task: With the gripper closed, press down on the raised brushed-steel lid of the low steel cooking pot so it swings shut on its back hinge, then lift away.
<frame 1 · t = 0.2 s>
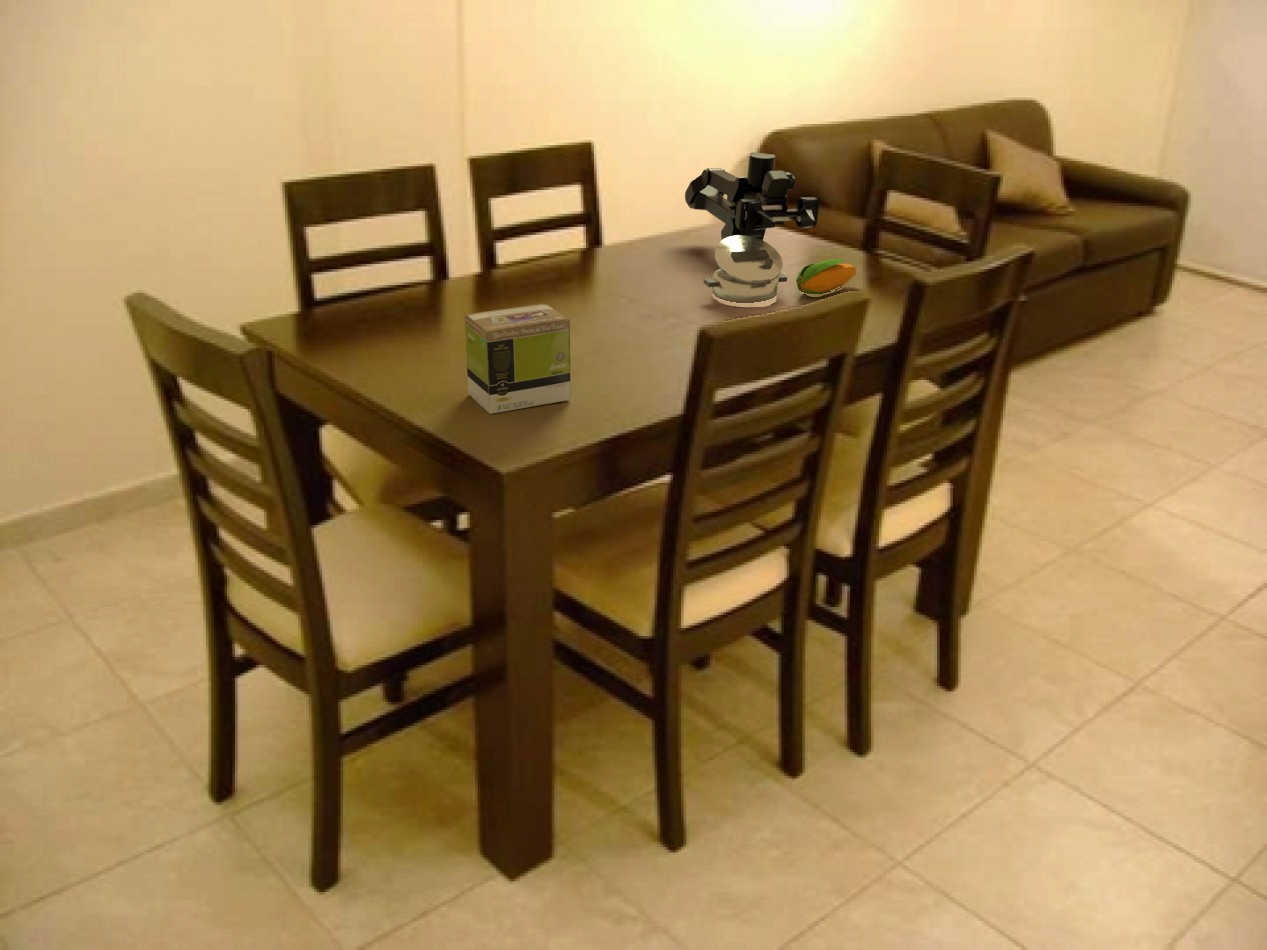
hand: (794, 224, 252), 17 cm above the table, tool horizontal, fingers open, 9 cm apart
pot: (744, 298, 259), on the table
lid: (750, 257, 254), point 9 cm above the table, hinge at 25.0°
corn: (825, 293, 266), on the table
tea box: (518, 399, 203), on the table
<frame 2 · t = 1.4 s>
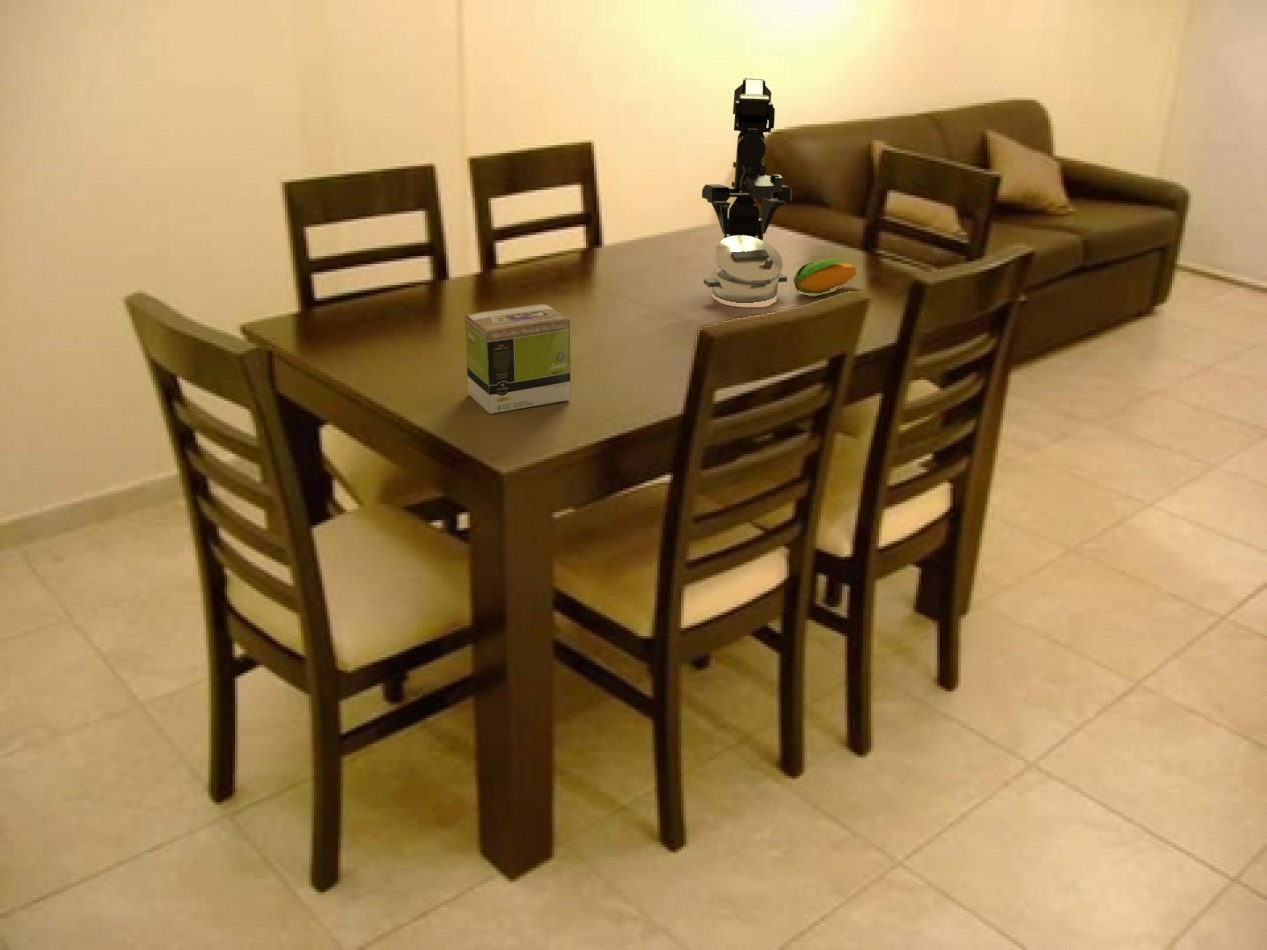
hand: (744, 233, 257), 13 cm above the table, tool pointing down, fingers open, 9 cm apart
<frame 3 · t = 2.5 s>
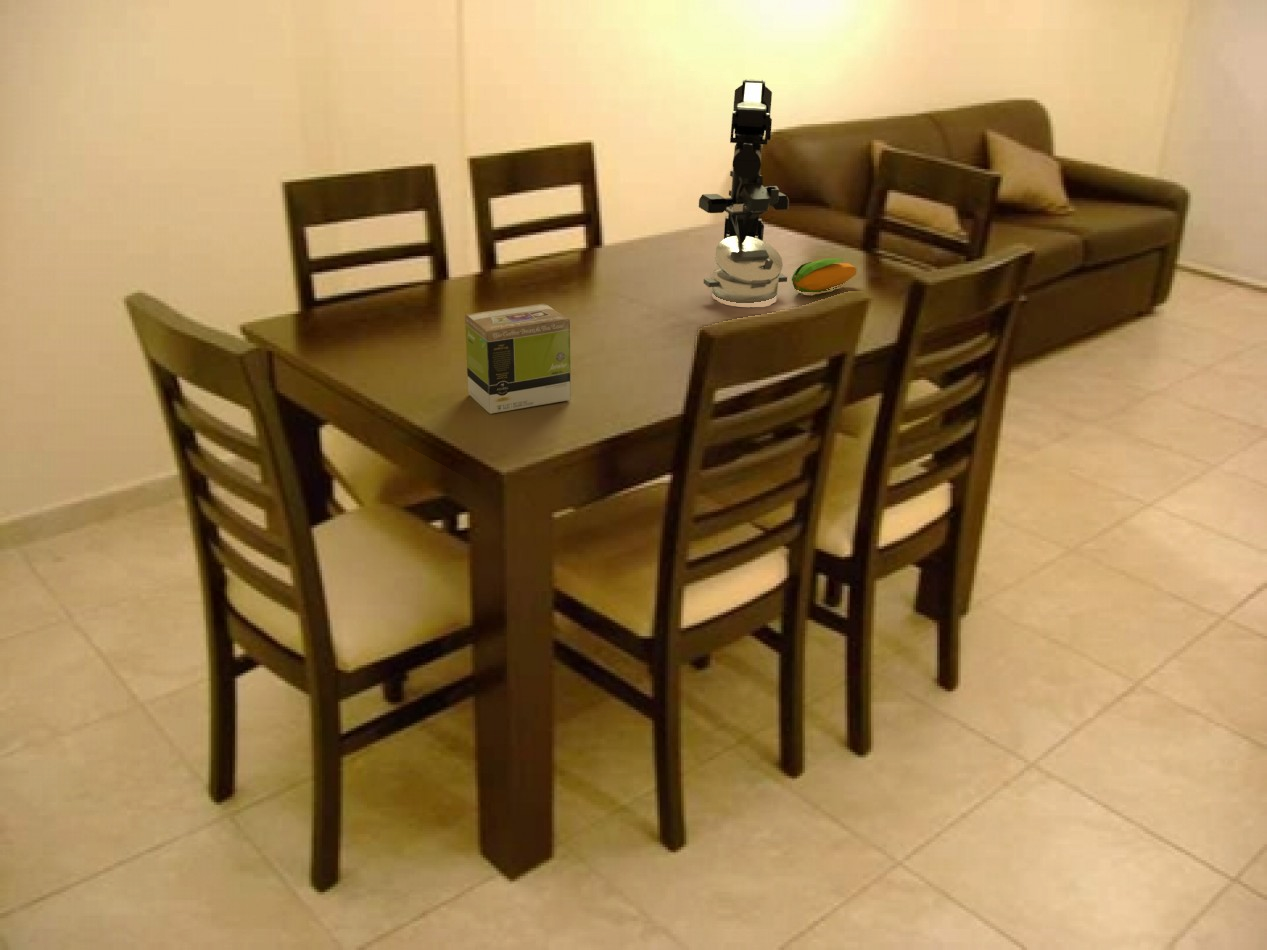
hand: (741, 241, 258), 11 cm above the table, tool pointing down, fingers closed, pressing on lid
lid: (750, 257, 254), point 9 cm above the table, hinge at 24.5°, touching gripper
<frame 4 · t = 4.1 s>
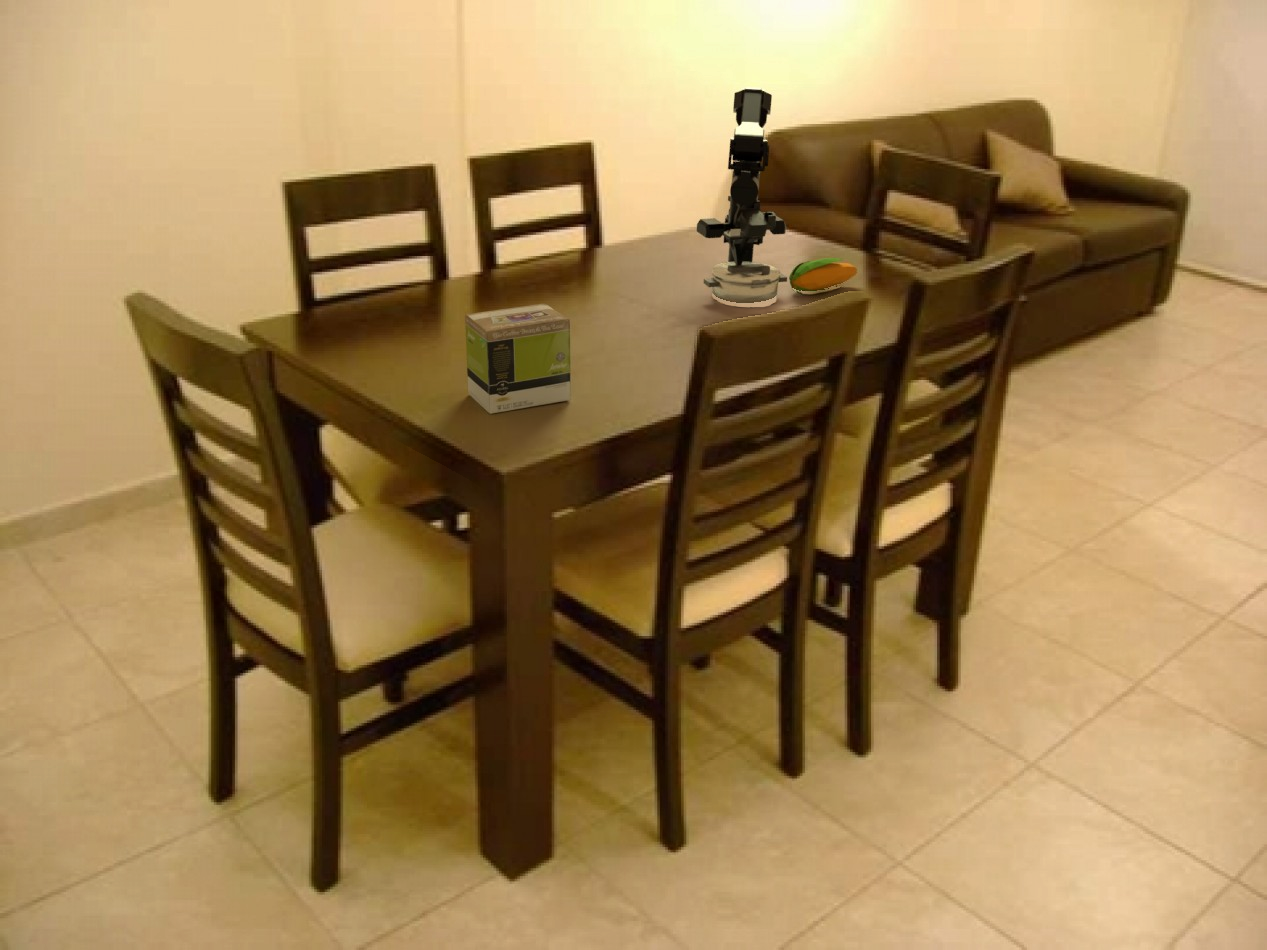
hand: (738, 265, 260), 6 cm above the table, tool pointing down, fingers closed, pressing on lid
lid: (747, 269, 256), point 6 cm above the table, hinge at -0.5°, touching gripper
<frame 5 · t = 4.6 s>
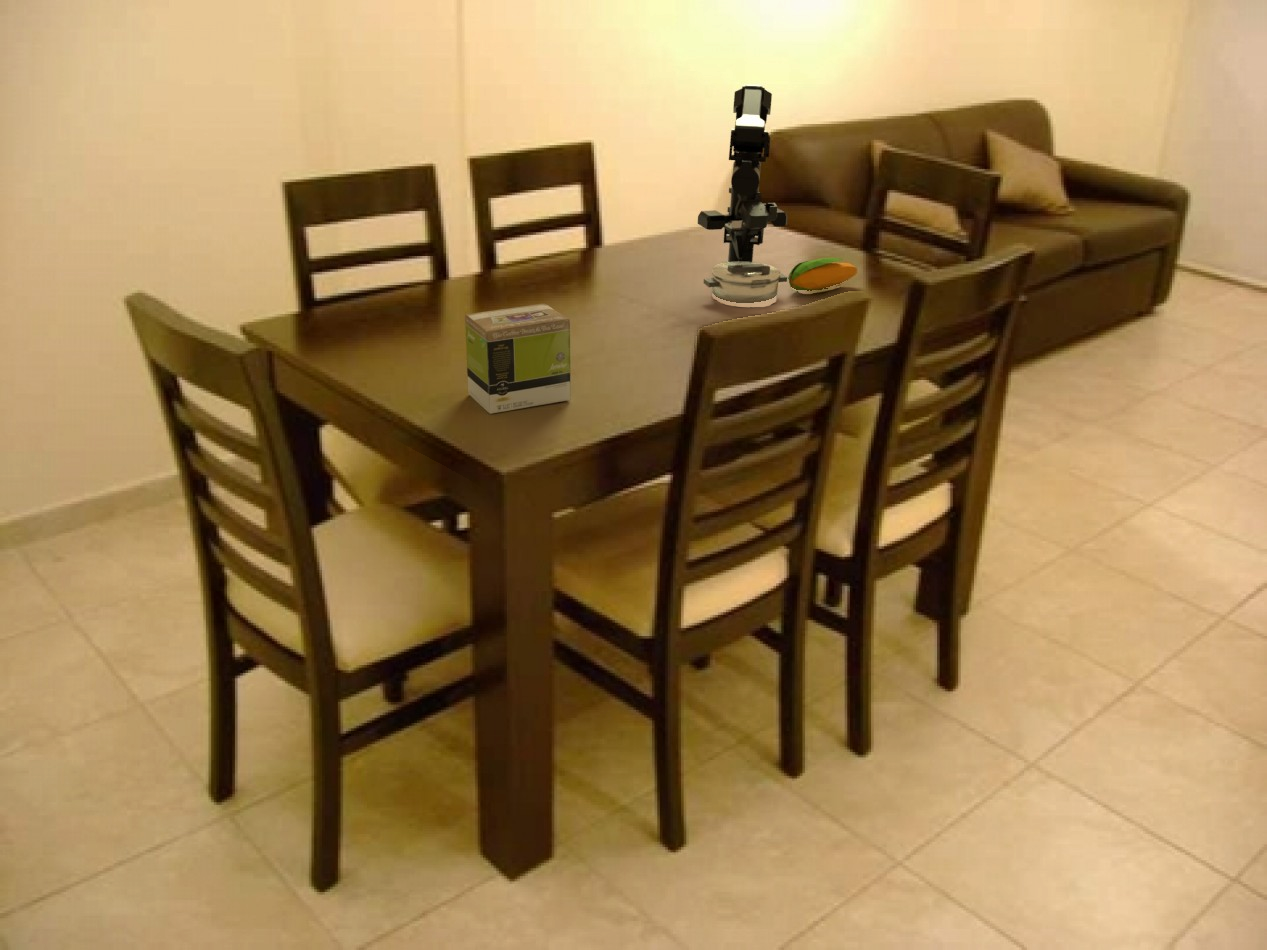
hand: (739, 258, 259), 8 cm above the table, tool pointing down, fingers closed
lid: (747, 269, 256), point 6 cm above the table, hinge at -0.5°
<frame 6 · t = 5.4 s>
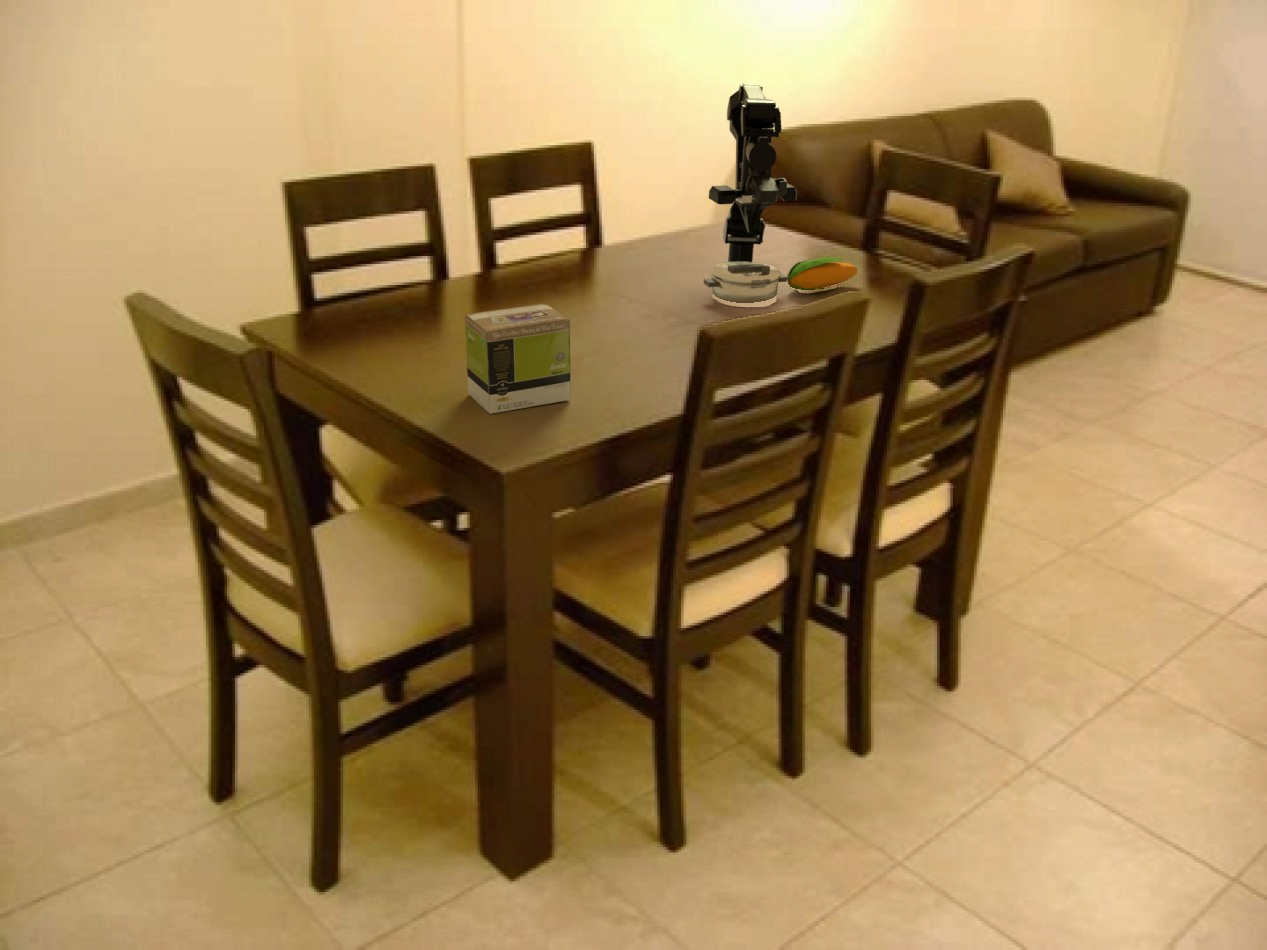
hand: (749, 232, 264), 12 cm above the table, tool pointing down, fingers closed
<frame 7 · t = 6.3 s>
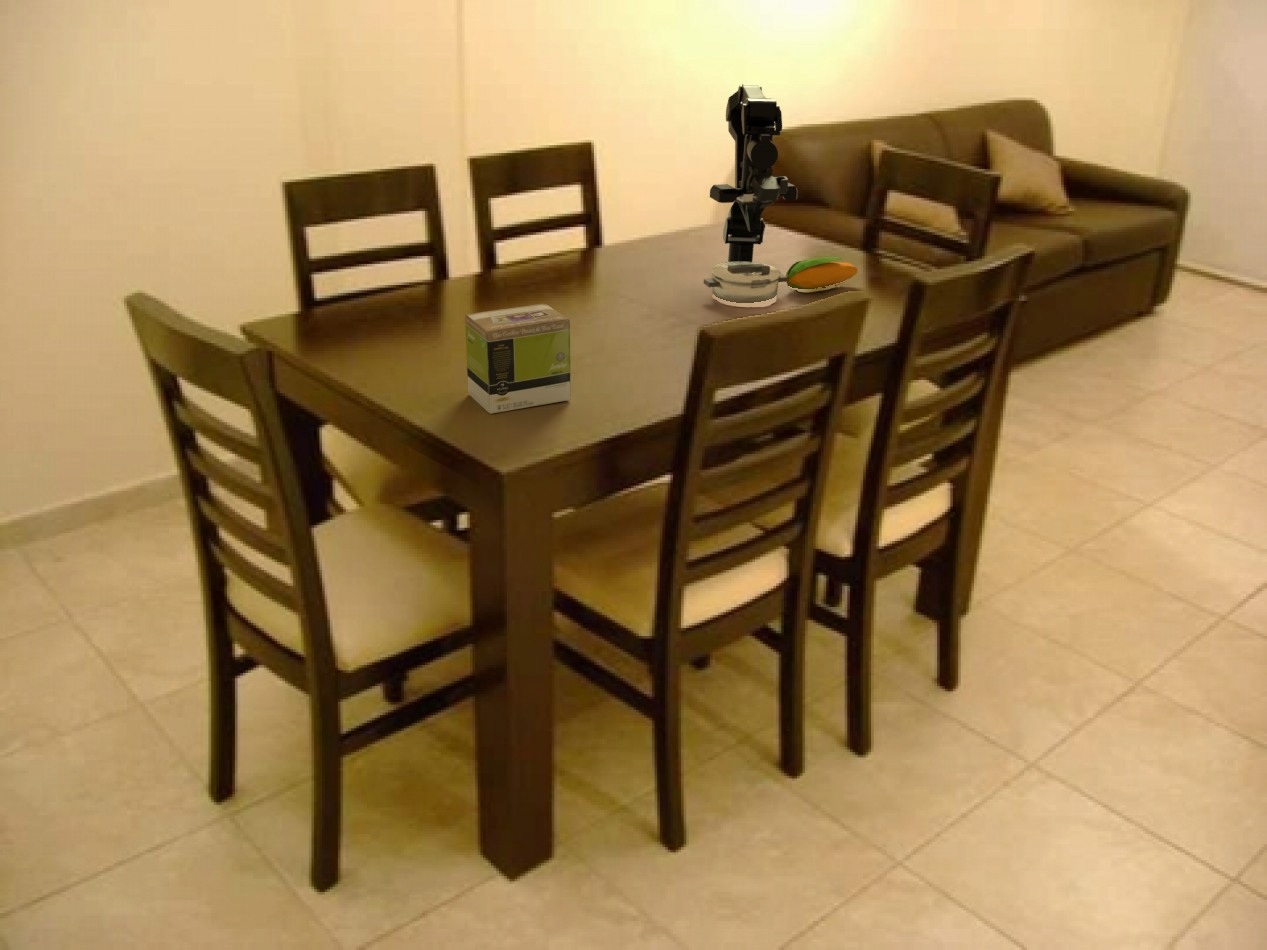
hand: (750, 231, 264), 12 cm above the table, tool pointing down, fingers closed
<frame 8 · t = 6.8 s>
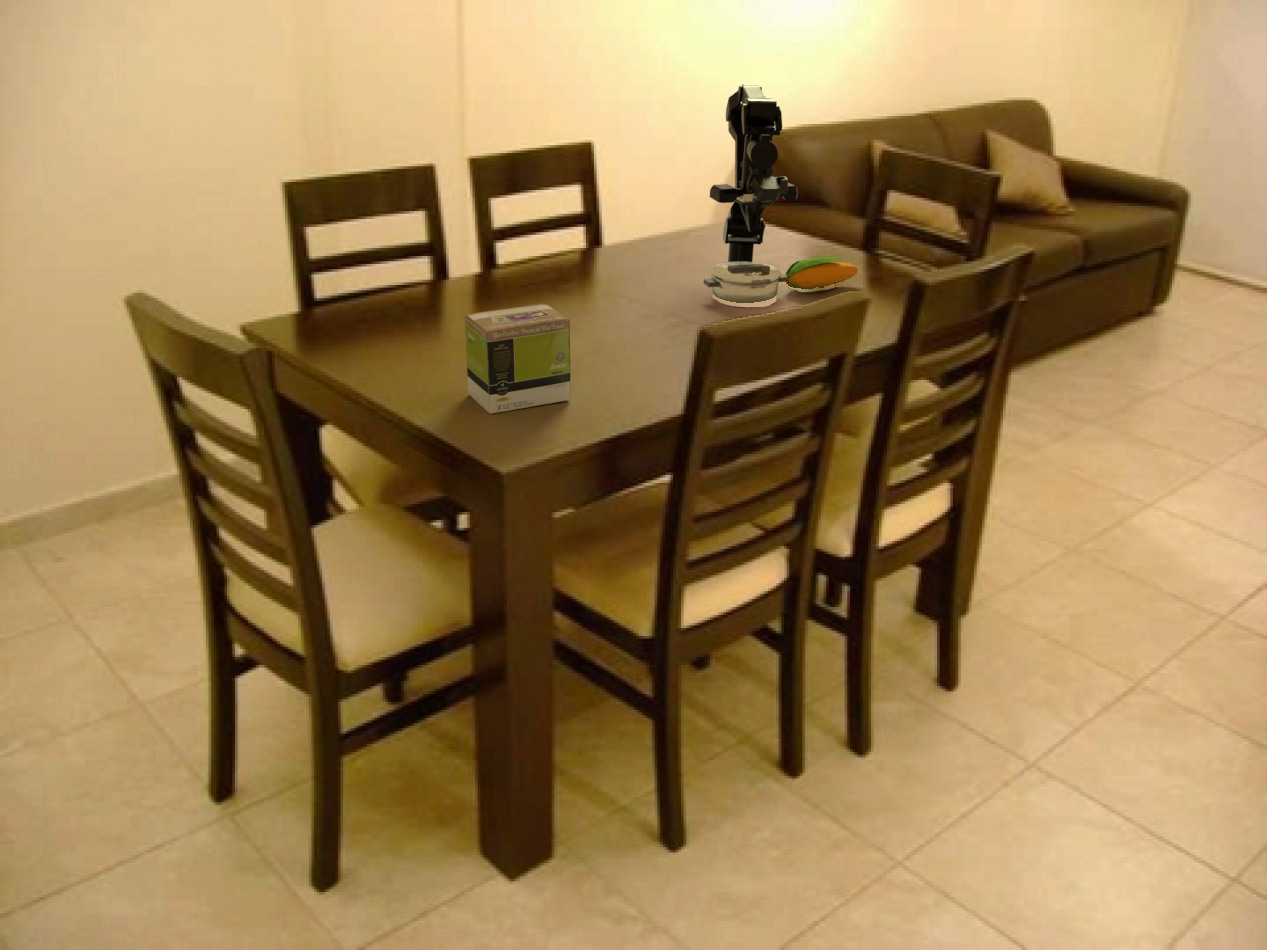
hand: (750, 231, 264), 12 cm above the table, tool pointing down, fingers closed
at the end: lid at +0° (first picture: +25°); corn moved 2.5 cm from its start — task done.
